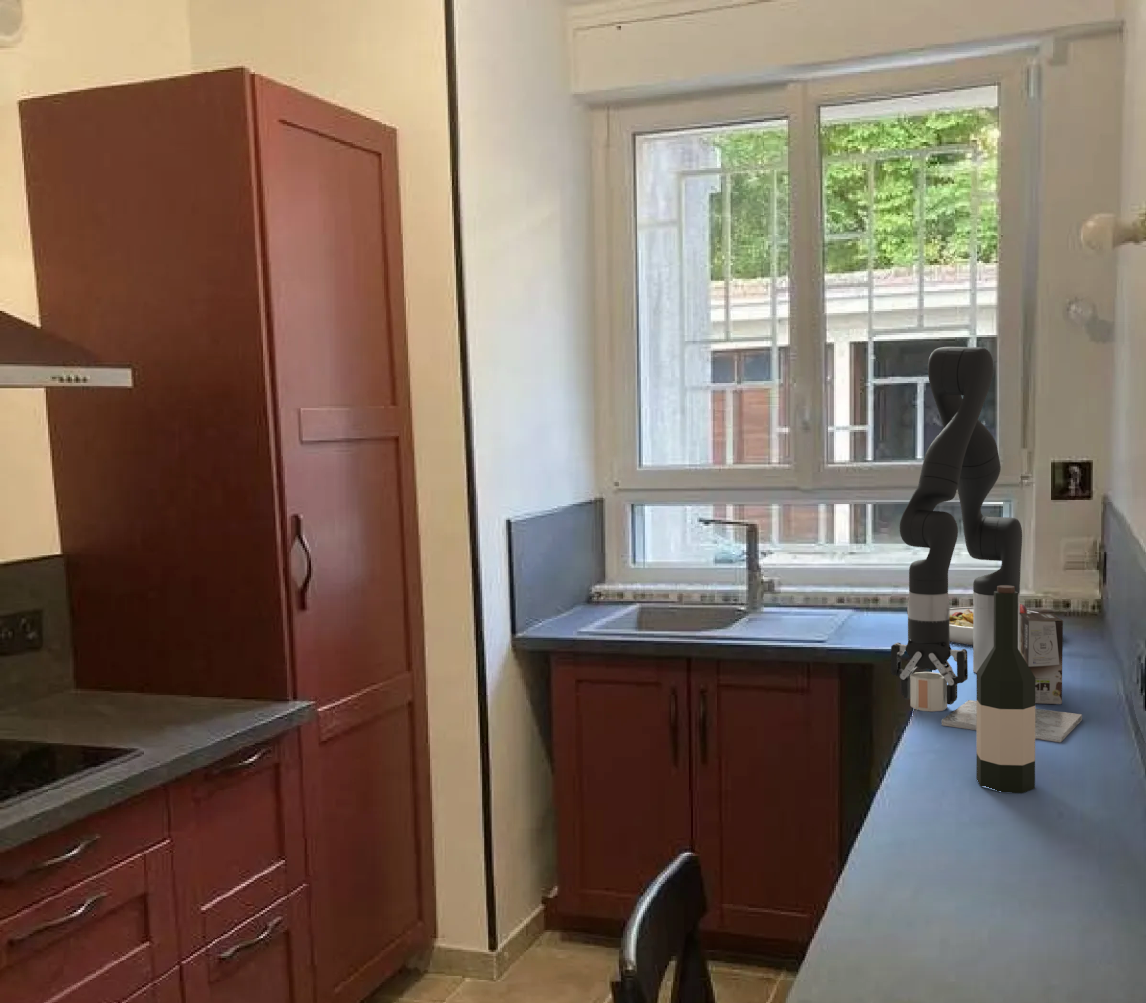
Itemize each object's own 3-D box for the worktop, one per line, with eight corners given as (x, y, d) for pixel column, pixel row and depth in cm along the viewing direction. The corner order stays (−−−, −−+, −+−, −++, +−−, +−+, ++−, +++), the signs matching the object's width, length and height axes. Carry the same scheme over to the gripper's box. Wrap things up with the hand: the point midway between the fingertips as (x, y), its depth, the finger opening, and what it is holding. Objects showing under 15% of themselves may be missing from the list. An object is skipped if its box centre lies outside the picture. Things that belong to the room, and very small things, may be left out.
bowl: (1047, 654, 253) (1048, 620, 252) (913, 644, 268) (913, 612, 267) (1063, 630, 279) (1063, 599, 278) (940, 622, 294) (940, 593, 293)
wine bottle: (1029, 797, 161) (1030, 592, 158) (970, 788, 165) (970, 588, 163) (1039, 780, 168) (1040, 584, 165) (982, 772, 172) (982, 581, 170)
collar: (918, 701, 215) (918, 670, 214) (950, 705, 211) (950, 674, 210) (906, 708, 209) (906, 677, 209) (939, 713, 206) (939, 681, 205)
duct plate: (968, 705, 211) (968, 674, 210) (1082, 720, 199) (1082, 687, 198) (941, 725, 198) (941, 692, 197) (1060, 742, 186) (1061, 707, 186)
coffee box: (1063, 704, 209) (1064, 620, 208) (1027, 704, 211) (1027, 620, 209) (1052, 692, 218) (1053, 611, 217) (1018, 692, 220) (1018, 611, 218)
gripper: (973, 615, 208) (973, 701, 209) (898, 609, 216) (898, 692, 217) (960, 622, 202) (960, 710, 203) (884, 615, 210) (884, 700, 211)
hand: (928, 700), depth 210 cm, fingers open, 7 cm apart
